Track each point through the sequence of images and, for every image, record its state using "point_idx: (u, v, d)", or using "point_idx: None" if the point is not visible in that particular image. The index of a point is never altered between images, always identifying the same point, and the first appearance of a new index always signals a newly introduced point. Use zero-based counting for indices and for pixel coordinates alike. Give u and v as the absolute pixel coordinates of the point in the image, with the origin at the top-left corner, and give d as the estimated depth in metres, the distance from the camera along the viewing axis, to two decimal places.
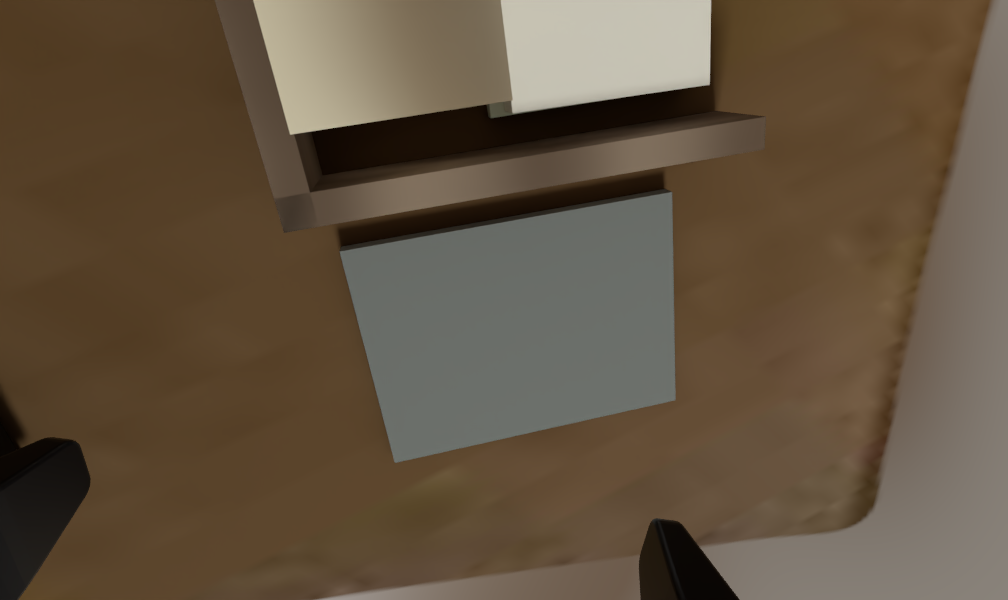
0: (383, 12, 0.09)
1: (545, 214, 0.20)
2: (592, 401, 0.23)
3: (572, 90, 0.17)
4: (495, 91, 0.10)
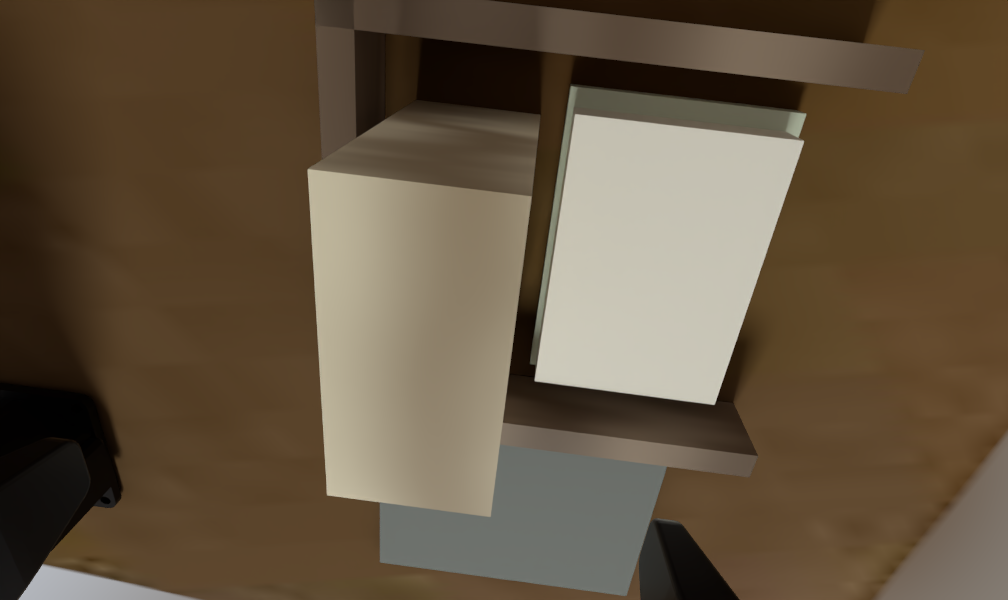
0: (410, 453, 0.13)
1: None
2: (553, 574, 0.27)
3: (590, 378, 0.20)
4: (479, 509, 0.13)
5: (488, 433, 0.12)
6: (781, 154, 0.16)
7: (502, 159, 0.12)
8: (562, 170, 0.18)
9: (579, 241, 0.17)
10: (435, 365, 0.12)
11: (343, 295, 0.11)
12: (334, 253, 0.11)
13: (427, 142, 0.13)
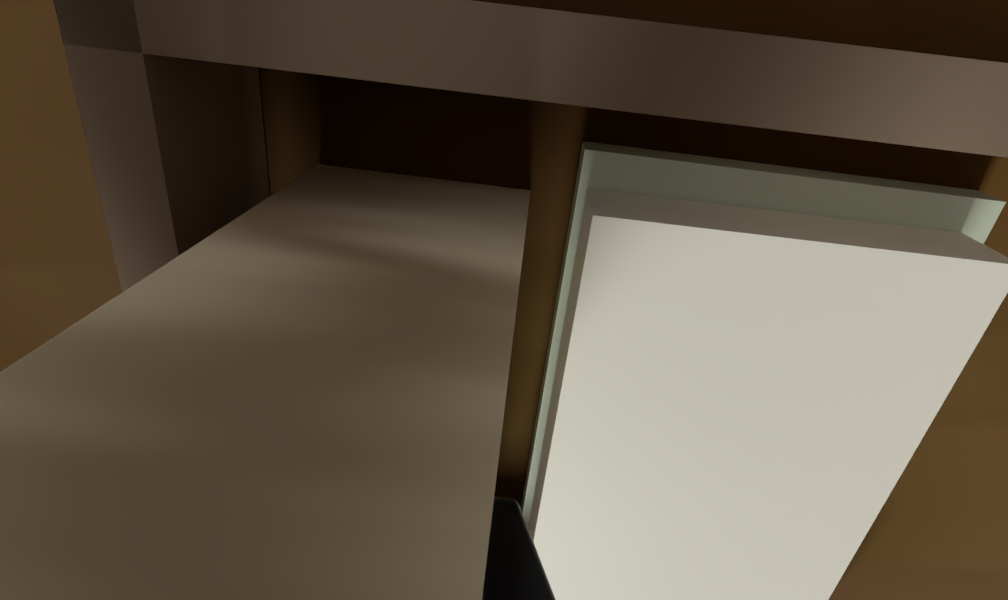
0: None
1: None
2: None
3: None
4: None
5: None
6: (975, 287, 0.09)
7: (418, 402, 0.05)
8: (568, 286, 0.11)
9: (597, 417, 0.10)
10: None
11: None
12: None
13: (250, 330, 0.05)
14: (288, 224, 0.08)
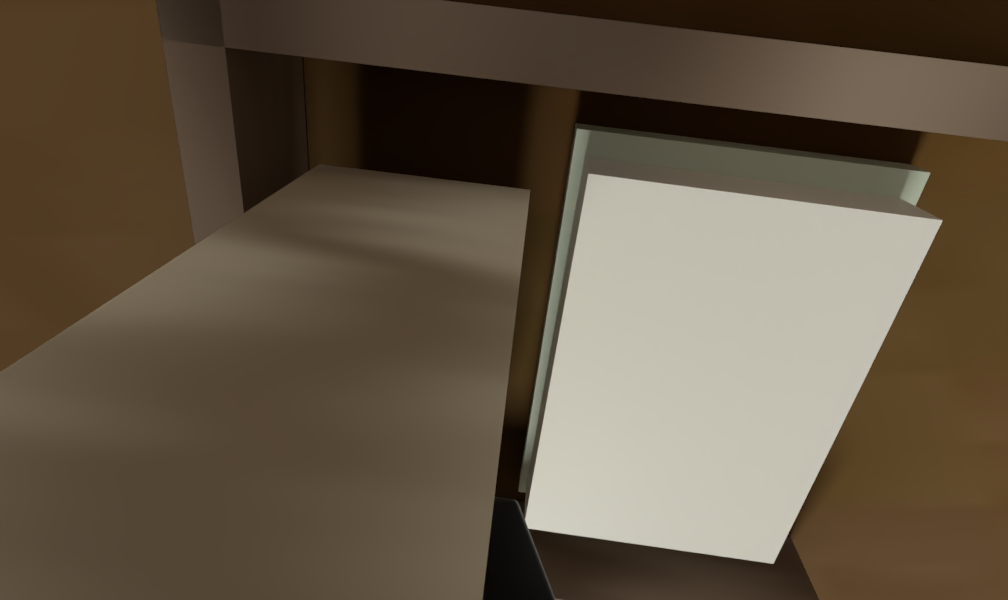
0: None
1: None
2: None
3: (601, 527, 0.14)
4: None
5: None
6: (904, 239, 0.10)
7: (419, 401, 0.05)
8: (564, 247, 0.12)
9: (590, 352, 0.12)
10: None
11: None
12: None
13: (251, 329, 0.05)
14: (288, 223, 0.08)
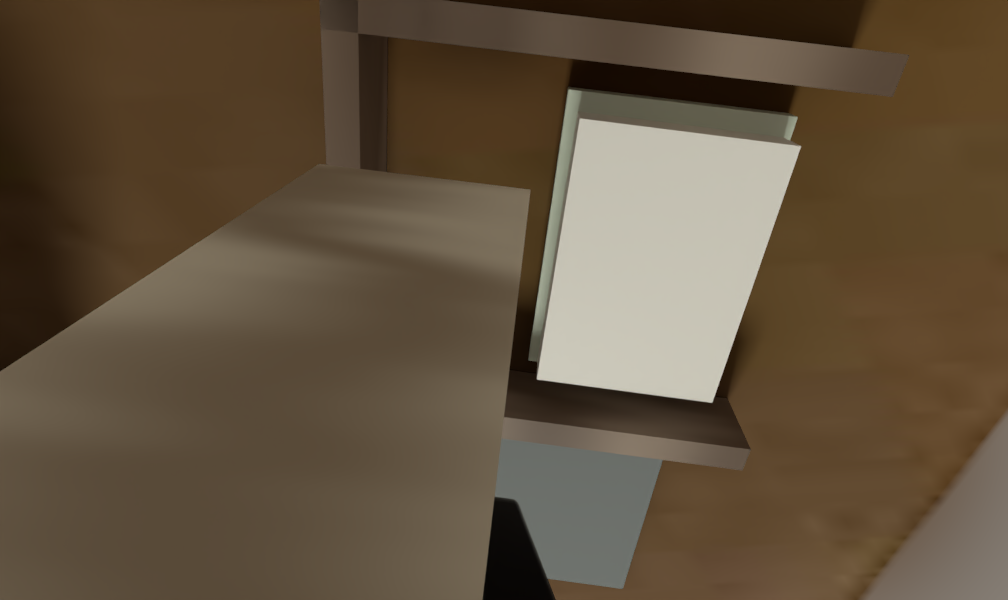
0: None
1: None
2: (551, 567, 0.27)
3: (591, 377, 0.20)
4: None
5: None
6: (779, 159, 0.16)
7: (419, 401, 0.05)
8: (560, 172, 0.18)
9: (582, 242, 0.18)
10: None
11: None
12: None
13: (251, 329, 0.05)
14: (288, 223, 0.08)
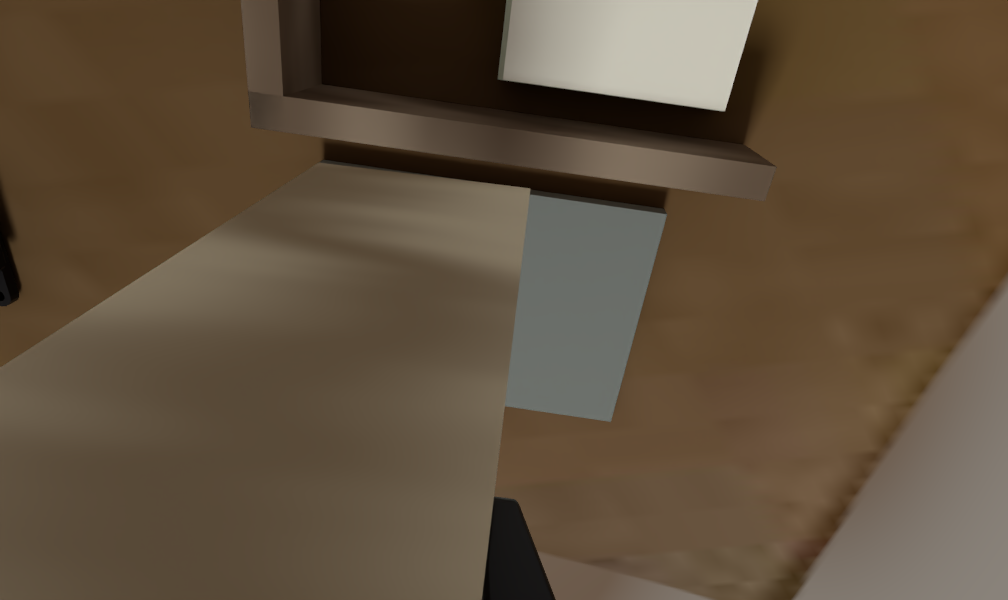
0: None
1: None
2: (526, 392, 0.23)
3: (572, 73, 0.16)
4: None
5: None
6: None
7: (418, 399, 0.05)
8: None
9: None
10: None
11: None
12: None
13: (250, 327, 0.05)
14: (287, 222, 0.08)
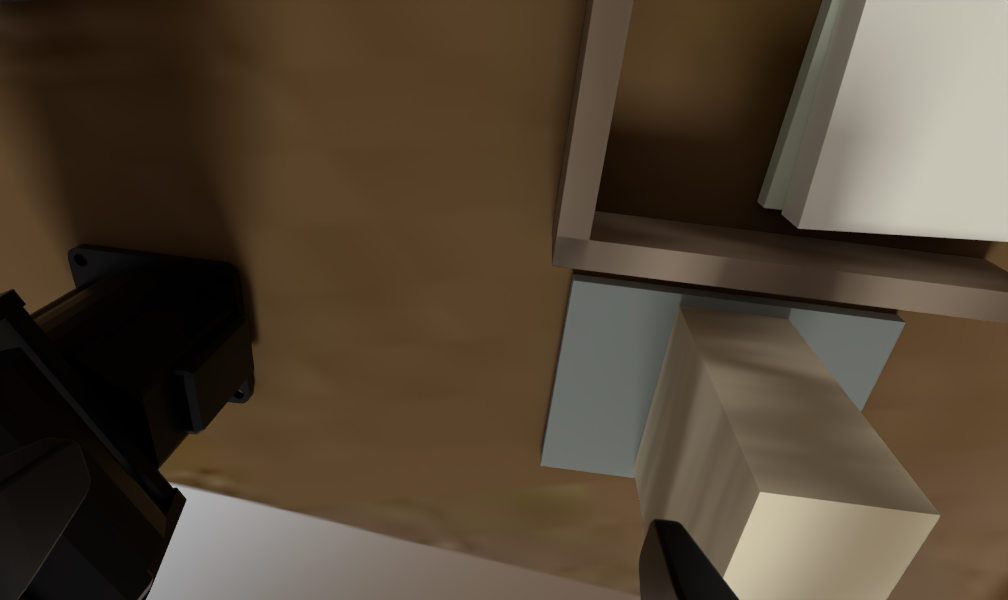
0: None
1: (772, 305, 0.20)
2: None
3: (865, 219, 0.17)
4: None
5: None
6: None
7: (855, 437, 0.15)
8: None
9: (883, 36, 0.15)
10: None
11: (752, 567, 0.14)
12: (757, 542, 0.13)
13: (777, 410, 0.15)
14: (721, 353, 0.18)
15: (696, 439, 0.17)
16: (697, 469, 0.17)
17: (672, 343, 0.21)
